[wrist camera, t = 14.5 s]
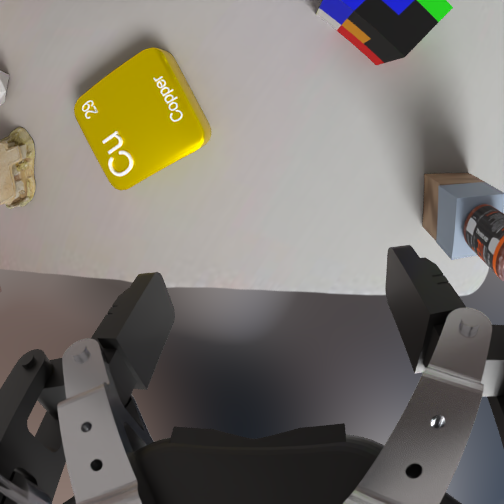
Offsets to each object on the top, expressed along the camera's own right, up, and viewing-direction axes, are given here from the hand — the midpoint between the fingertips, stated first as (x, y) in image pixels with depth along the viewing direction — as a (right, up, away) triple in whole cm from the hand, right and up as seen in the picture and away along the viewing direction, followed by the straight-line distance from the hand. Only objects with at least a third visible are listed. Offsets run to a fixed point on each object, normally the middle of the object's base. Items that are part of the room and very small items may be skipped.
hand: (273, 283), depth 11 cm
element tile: (-15, +19, +27) cm, 37 cm away
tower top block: (+27, +6, +24) cm, 37 cm away
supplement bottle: (+27, +4, +20) cm, 34 cm away
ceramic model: (-42, +16, +32) cm, 55 cm away
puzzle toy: (+14, +31, +18) cm, 39 cm away
